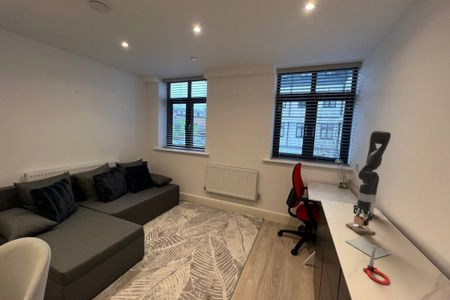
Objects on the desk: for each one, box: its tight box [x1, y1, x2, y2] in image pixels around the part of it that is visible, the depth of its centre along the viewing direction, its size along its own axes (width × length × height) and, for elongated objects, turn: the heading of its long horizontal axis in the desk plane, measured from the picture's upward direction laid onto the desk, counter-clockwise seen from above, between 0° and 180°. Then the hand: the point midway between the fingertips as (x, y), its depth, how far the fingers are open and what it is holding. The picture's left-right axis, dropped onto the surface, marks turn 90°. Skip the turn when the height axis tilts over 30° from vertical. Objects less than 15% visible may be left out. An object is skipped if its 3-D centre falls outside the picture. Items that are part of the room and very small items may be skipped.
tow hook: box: [362, 247, 391, 286], centre depth 90 cm, size 8×13×9 cm
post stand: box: [345, 218, 376, 236], centre depth 134 cm, size 12×12×8 cm
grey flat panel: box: [345, 237, 391, 260], centre depth 112 cm, size 23×25×1 cm
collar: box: [353, 215, 370, 227], centre depth 134 cm, size 6×6×4 cm
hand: (361, 222), depth 134 cm, fingers closed on collar, 6 cm apart
